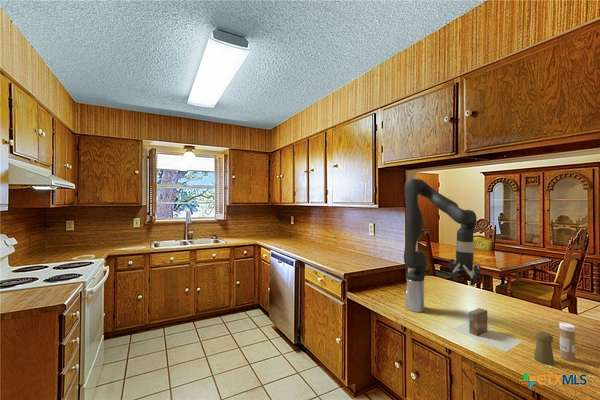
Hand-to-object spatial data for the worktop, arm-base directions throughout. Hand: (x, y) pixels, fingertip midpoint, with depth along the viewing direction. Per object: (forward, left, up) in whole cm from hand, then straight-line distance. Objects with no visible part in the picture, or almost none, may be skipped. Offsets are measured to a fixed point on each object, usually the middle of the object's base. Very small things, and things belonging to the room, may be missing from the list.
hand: (463, 282), depth 133 cm
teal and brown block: (+7, 0, -22) cm, 23 cm away
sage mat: (+10, 0, -22) cm, 24 cm away
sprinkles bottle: (+35, +9, -22) cm, 43 cm away
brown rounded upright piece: (+31, -1, -22) cm, 38 cm away
